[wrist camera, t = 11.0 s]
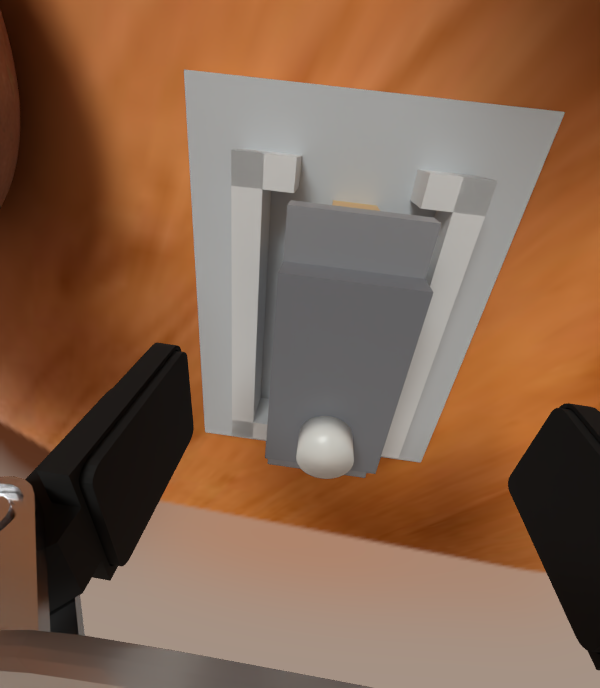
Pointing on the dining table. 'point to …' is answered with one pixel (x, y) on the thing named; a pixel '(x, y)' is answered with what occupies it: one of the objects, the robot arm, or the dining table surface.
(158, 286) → the dining table surface
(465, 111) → the pocket
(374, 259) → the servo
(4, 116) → the ceramic jug
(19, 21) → the dining table surface
